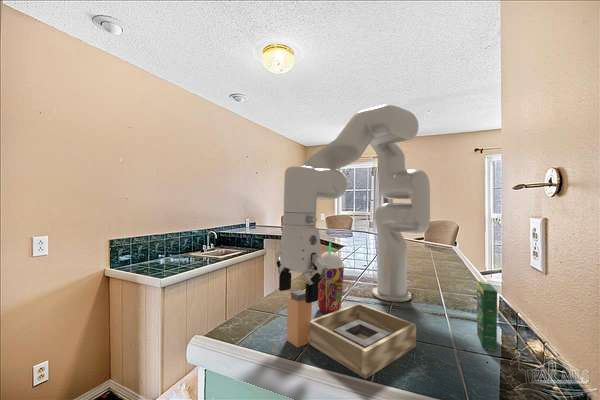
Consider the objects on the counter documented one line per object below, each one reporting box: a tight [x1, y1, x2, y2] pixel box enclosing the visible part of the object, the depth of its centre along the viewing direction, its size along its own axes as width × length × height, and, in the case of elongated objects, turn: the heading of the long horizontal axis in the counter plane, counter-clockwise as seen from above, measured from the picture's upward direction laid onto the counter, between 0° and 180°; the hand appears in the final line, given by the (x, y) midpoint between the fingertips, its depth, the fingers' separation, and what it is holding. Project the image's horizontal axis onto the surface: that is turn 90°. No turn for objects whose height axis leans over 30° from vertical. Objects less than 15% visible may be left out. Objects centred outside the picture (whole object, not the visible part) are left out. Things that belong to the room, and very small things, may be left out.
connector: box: [286, 289, 313, 348], centre depth 63 cm, size 4×4×11 cm
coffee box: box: [476, 281, 498, 352], centre depth 64 cm, size 8×3×13 cm, turn 155°
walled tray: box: [307, 302, 417, 380], centre depth 62 cm, size 18×16×5 cm
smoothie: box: [317, 242, 345, 315], centre depth 81 cm, size 8×8×20 cm
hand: (297, 295), depth 63 cm, fingers open, 9 cm apart
